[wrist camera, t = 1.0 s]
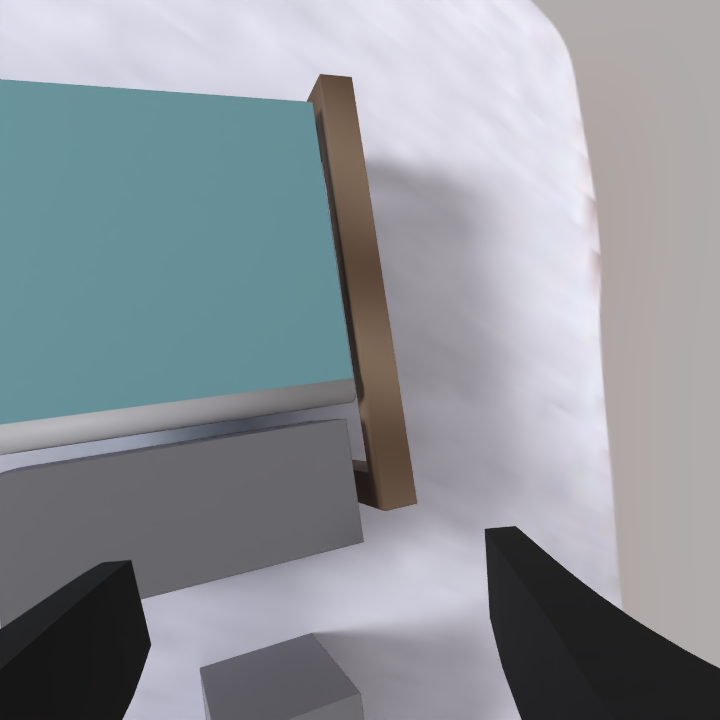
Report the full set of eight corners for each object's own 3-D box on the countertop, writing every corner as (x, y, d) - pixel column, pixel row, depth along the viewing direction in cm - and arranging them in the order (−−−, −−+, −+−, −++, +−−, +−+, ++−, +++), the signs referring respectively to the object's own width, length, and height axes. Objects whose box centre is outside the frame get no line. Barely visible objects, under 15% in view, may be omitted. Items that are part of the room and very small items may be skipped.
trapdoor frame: (358, 487, 23) (417, 503, 18) (-34, 572, 18) (-105, 627, 13) (309, 150, 25) (351, 77, 19) (-75, 136, 19) (-155, 29, 14)
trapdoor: (337, 520, 21) (378, 538, 18) (14, 596, 17) (-22, 641, 14) (285, 155, 22) (313, 100, 19) (-31, 144, 18) (-76, 71, 15)
